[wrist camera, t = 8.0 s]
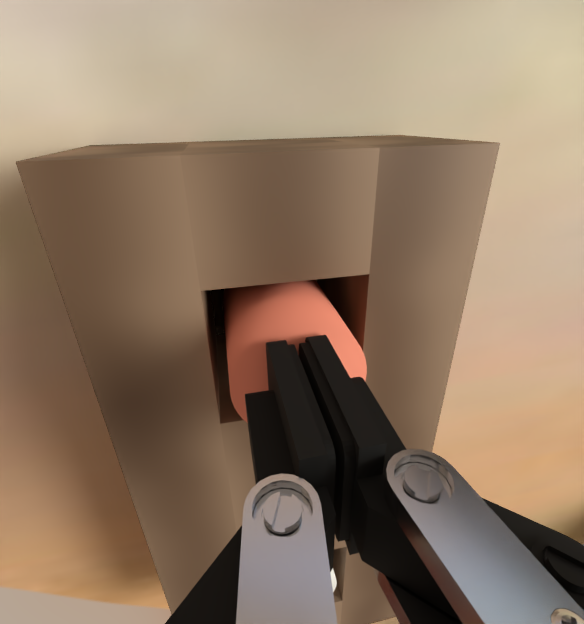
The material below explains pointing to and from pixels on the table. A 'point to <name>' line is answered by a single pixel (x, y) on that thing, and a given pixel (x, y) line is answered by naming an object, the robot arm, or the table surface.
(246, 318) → the red plug
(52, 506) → the table surface
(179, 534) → the plug block
